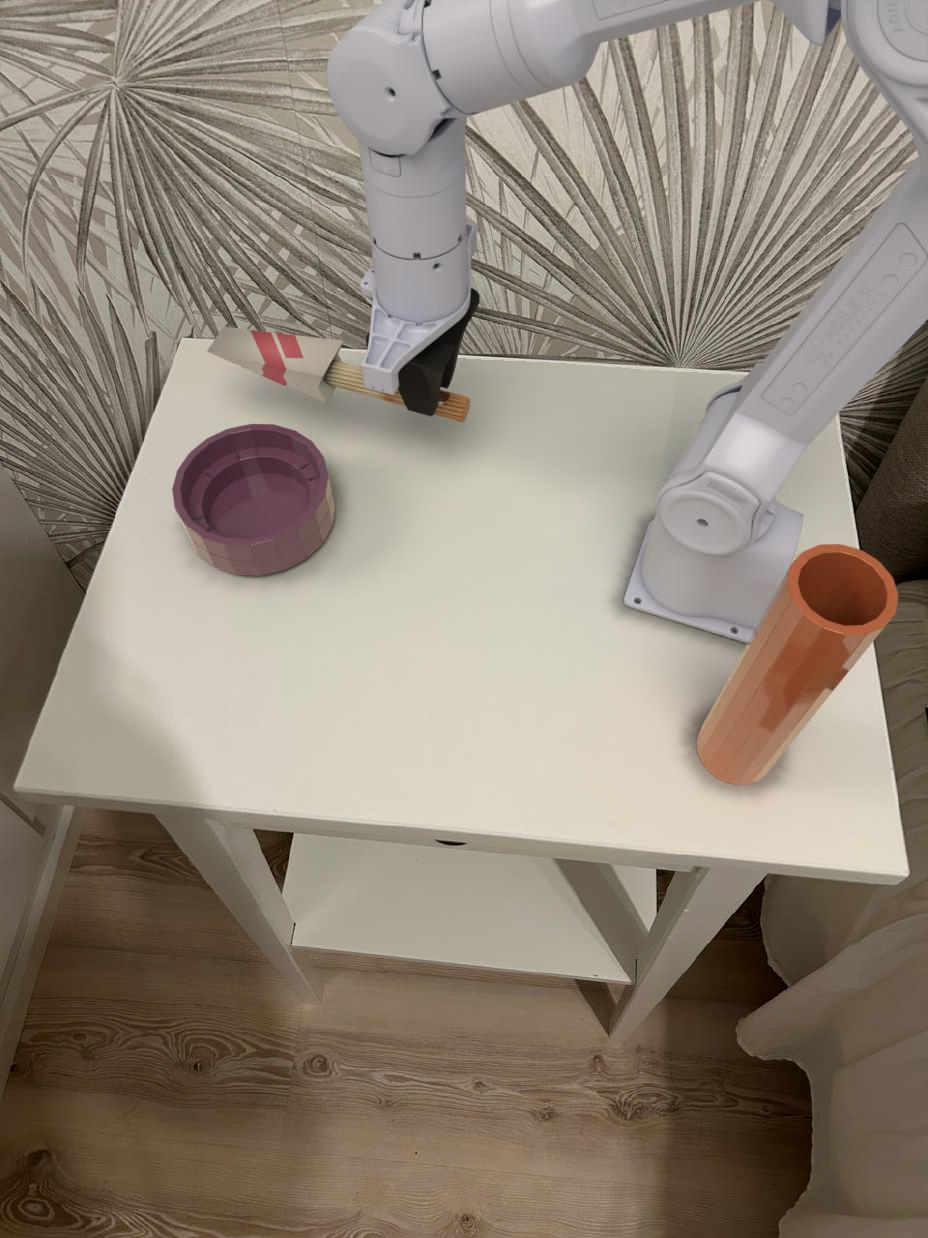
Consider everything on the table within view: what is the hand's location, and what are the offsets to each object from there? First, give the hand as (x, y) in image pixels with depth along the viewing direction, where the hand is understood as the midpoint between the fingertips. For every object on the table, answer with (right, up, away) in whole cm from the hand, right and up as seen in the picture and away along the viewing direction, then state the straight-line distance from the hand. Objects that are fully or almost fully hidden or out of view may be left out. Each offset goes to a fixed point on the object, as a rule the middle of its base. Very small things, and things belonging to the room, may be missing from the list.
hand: (428, 395), depth 64 cm
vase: (+20, -25, -5) cm, 32 cm away
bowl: (-13, -8, +5) cm, 16 cm away
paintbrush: (-7, +1, +3) cm, 7 cm away
